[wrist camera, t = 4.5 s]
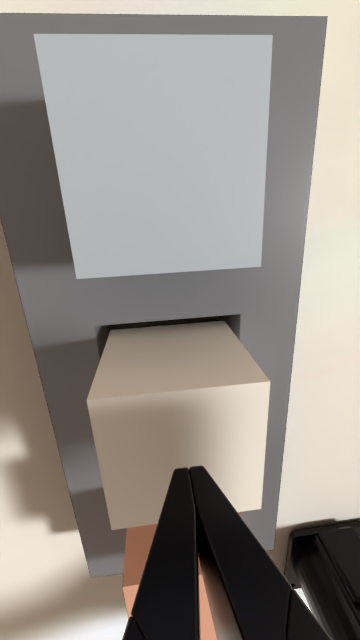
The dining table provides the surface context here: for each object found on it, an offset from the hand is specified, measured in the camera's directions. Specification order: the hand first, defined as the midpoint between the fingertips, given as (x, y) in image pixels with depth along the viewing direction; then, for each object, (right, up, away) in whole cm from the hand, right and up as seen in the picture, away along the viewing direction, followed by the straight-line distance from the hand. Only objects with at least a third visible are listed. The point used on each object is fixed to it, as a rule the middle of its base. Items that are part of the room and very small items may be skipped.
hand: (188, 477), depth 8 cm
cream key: (-1, +2, +5) cm, 6 cm away
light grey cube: (-1, +10, +3) cm, 10 cm away
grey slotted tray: (-1, +3, +7) cm, 8 cm away
